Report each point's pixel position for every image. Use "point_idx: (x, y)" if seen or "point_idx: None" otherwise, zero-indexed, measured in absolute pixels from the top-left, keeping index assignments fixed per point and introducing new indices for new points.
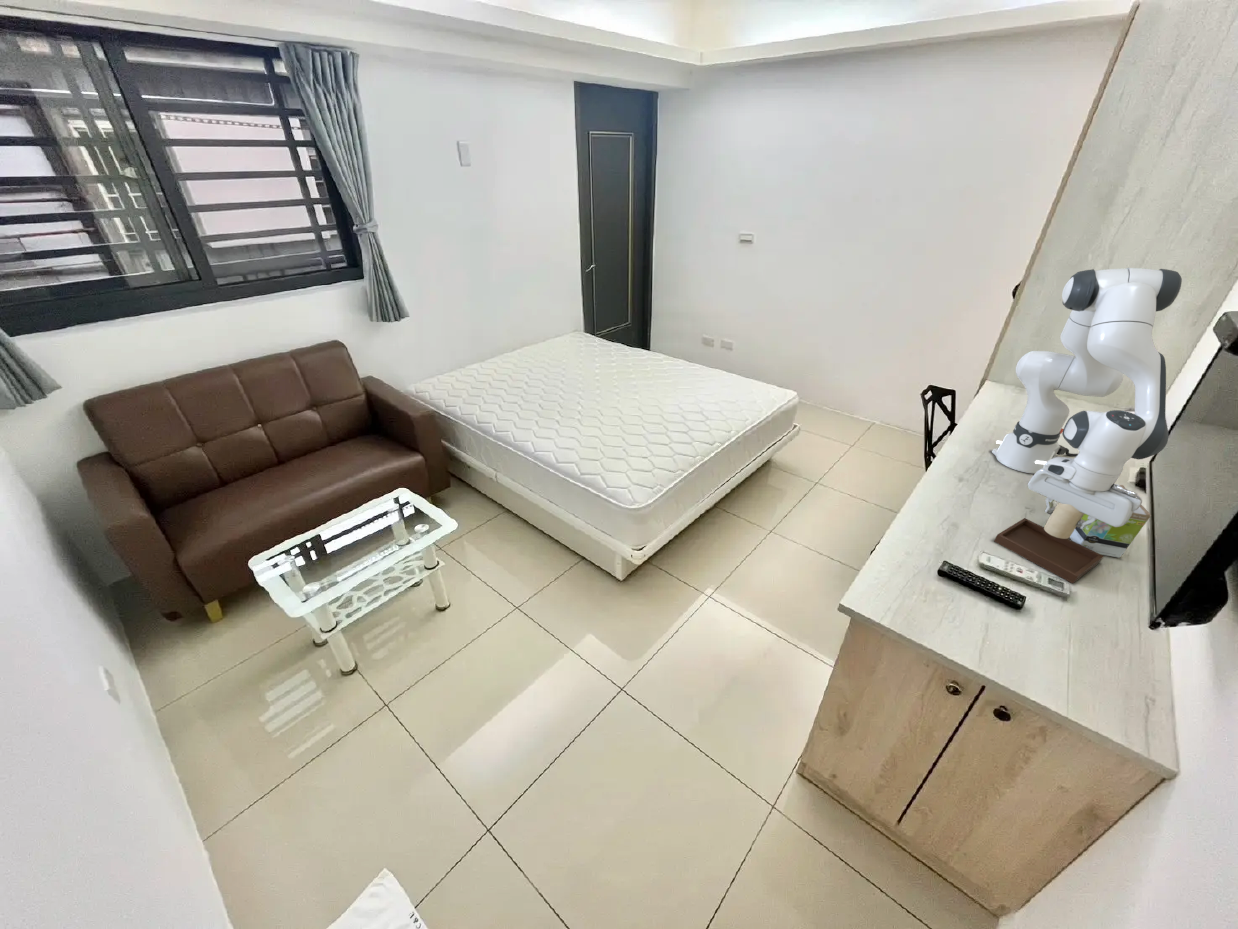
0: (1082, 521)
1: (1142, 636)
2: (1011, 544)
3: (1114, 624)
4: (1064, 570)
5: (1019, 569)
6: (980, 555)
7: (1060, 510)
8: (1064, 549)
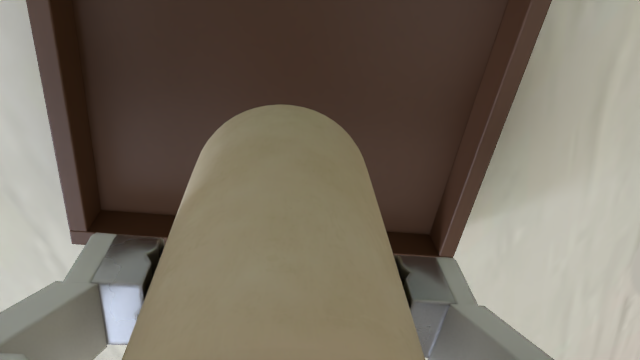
0: (425, 334)
1: (630, 315)
2: None
3: (560, 325)
4: None
5: None
6: None
7: None
8: (356, 9)
